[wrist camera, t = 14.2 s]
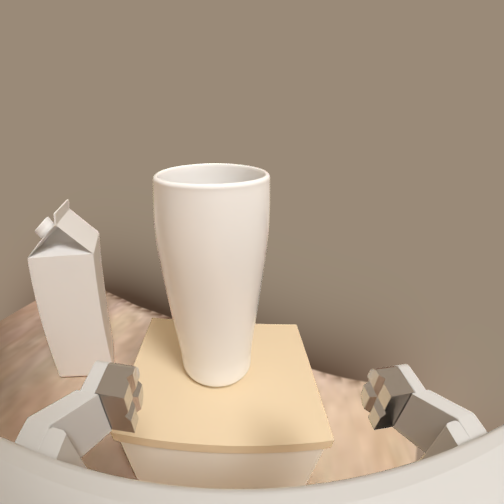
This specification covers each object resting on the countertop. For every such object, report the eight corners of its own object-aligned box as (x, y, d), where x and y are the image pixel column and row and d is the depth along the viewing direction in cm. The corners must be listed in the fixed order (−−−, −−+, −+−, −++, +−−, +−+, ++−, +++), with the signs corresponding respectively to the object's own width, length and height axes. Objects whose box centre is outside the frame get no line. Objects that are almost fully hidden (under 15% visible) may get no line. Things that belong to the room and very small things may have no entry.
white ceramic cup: (173, 399, 20) (140, 188, 13) (176, 339, 26) (160, 164, 19) (266, 394, 21) (285, 185, 14) (252, 335, 27) (260, 162, 20)
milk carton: (113, 340, 37) (97, 197, 30) (115, 375, 30) (90, 210, 24) (65, 343, 34) (40, 201, 27) (59, 378, 28) (21, 216, 21)
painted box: (134, 482, 18) (110, 432, 15) (159, 375, 32) (152, 317, 29) (308, 488, 19) (334, 440, 17) (285, 380, 33) (296, 324, 30)
